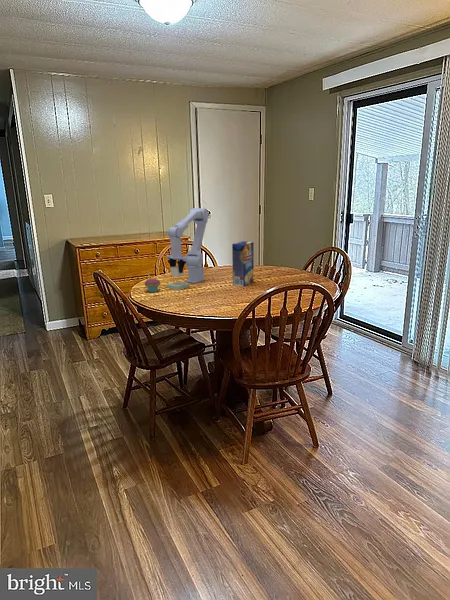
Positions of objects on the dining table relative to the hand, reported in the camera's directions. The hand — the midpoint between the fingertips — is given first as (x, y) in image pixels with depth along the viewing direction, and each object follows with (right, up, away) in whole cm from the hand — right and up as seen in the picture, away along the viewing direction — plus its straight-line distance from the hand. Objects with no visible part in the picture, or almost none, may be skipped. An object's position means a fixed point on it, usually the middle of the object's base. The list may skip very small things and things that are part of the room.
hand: (177, 272), depth 232 cm
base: (0, -8, +3) cm, 9 cm away
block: (0, -2, 0) cm, 2 cm away
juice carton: (+38, -6, +8) cm, 39 cm away
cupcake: (-13, -11, -4) cm, 18 cm away
